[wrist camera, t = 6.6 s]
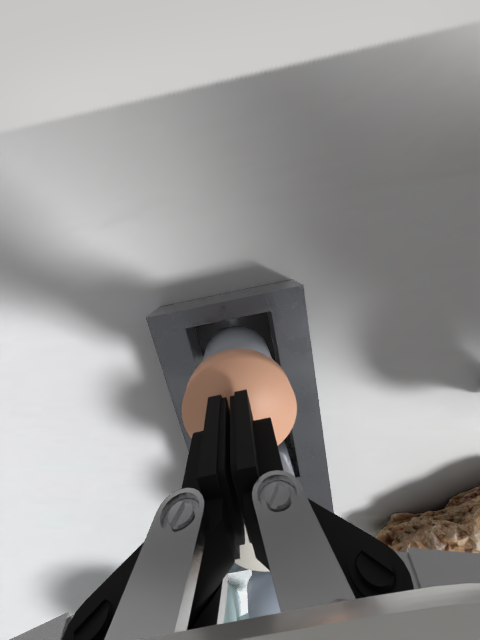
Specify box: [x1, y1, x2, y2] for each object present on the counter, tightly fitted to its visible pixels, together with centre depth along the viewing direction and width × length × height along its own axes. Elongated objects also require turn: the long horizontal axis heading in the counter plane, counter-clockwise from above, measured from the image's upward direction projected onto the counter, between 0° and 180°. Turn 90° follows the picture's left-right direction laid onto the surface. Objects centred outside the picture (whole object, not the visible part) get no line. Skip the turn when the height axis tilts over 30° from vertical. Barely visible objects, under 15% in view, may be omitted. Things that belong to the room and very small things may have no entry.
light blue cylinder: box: [247, 570, 281, 618], centre depth 20 cm, size 5×5×6 cm
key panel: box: [146, 280, 334, 573], centre depth 21 cm, size 10×24×3 cm, turn 12°
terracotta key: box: [182, 326, 297, 446], centre depth 14 cm, size 5×5×6 cm
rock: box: [375, 487, 480, 553], centre depth 24 cm, size 17×5×10 cm
